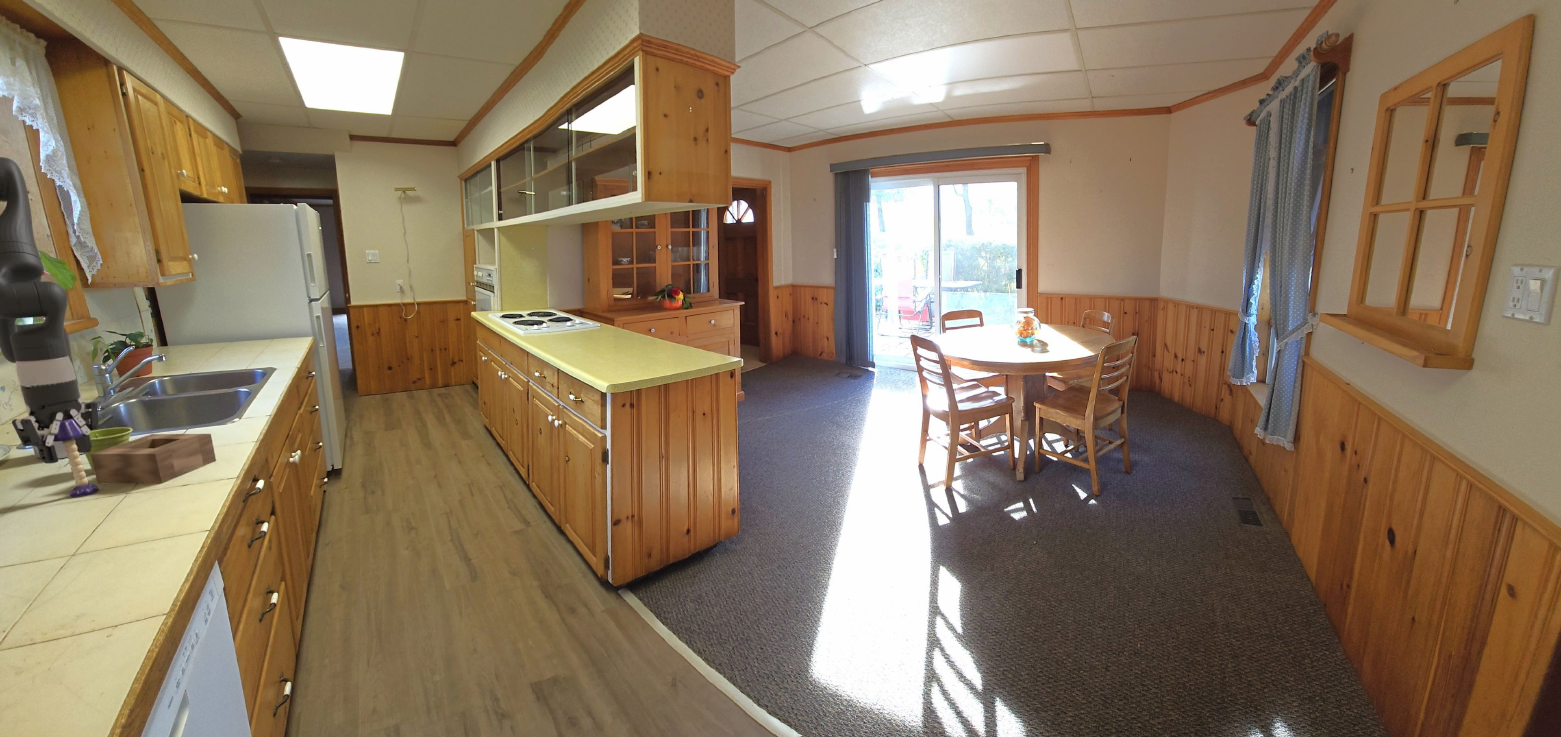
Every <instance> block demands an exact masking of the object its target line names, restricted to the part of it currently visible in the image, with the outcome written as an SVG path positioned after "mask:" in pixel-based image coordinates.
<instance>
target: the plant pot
mask: <svg viewBox="0 0 1561 737" xmlns="http://www.w3.org/2000/svg"><path fill="white" fill-rule="evenodd" d="M132 432H133V428H131V427H111V428H102V429H94V430H92V431H91V433H90V434H89V436H90V441H91V445H92V447H91V451H90V452H86V453H84V456H85V458H86V460H87V461H88V463H89V466H90V468H91V471H92V472H95V471H94V467H93V463H92V459H91V454H92V453H95V452H98V451H102V450H105V449H108V448H111V447H114V446H117V445H120V444H123V443H126V442H129V441H130V438H131V433H132Z"/></svg>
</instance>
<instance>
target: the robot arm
mask: <svg viewBox="0 0 1561 737" xmlns="http://www.w3.org/2000/svg"><path fill="white" fill-rule="evenodd" d="M21 170H22V169H21V168H20V166H19V165H18V164H17V163H16V162H15V161H14V160H13V159H11V158H8V157H2V156H0V203H1V202H2V203H4V202H5V203H6V205H5V207H4V209H3V211H2V213H1V214H0V351H1V353H2V355H3V357H4V359H5V360H6V361H8V362H10V363H11V364H16V365H15V367H16V374H17V379H18V383H19V386H20V390H21V393H22V397H23V401H24V405H25V408H26V411H27V412H26V413H27V416H25V417H22V418H14V419H12V421H11V424H12V426H13V428H14V430H15V432H16V434H17V436H18V439H19V441H20V443H21V444H22V446H23V447H32V449H33V450H32V451H33V453H34V456H35V458H39V460H40V461H41V462H43V463H44V464H56V463H58V462H59V459H63V458H67V452H66V451H65V445H64V444H63V442H62V441H59V442H53V440H54V436H55V435H56V434H57V433H58V429H59V425H60V422H61V421H63V420H67V419H70V418H71V419H73V420H74V421H75V422H76V424H77V425H78V426H79V428H80V429H81V430H82V432H83V434H84V435H83V436H81V437H79V438H76V439H75V445H76V446H77V451H78V452H79V455H83V454H85V453H86V452H90V451H91V447H92V445H91V441H90V436H89V434H90V433H91V431H95V430H99V429H98V428H99V410H98V403H97V402H95V401H93V402H92V401H91V402H89V401H88V402H87V401H85V402H84V400H83V396H82V393H81V391H80V386H79V382H78V378H77V375H76V374H77V373H76V371H75V367H74V363H73V362H74V361H73V356H72V352H71V351H72V349H71V342H70V338H69V335H68V332H67V329H66V327H65V326H64V325H65V319H66V318H65V317H66V311H67V308H68V302H69V301H68V293H67V292H66V289H64V287H62V286H61V285H60V284H58V283H56V282H54V281H42V276H43V275H44V272H45V268H44V265H43V261H42V258H41V255H40V253H39V250H38V247H37V244H36V240H35V236H34V229H33V219H32V209H31V204H30V199H29V193H28V188H27V183H26V180H25V178H24V174H23V172H22V171H21ZM40 317H44V318H45V320H44V321H43V322H42V323H26V324H16V321H17V319H26V318H40Z"/></svg>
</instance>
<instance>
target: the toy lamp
mask: <svg viewBox="0 0 1561 737" xmlns="http://www.w3.org/2000/svg"><path fill="white" fill-rule="evenodd" d="M83 435H84V434H83V432H82V430H81V429H80V428H79V426H78V425H77V424H76V422H75V421H74V420H73V419H71V418H70V419H67V420H63V421H61V422H60V425H59V429H58V433H57V434H56V435H55V436H54V440H53V442H59V441H62V442H63V444H64V445H65V451H66V452H67V457H66V458H67V459H68V464H69V466H70V471H71V472H72V473H73V476H72V477H73V478H74V480H75V482H74V483H75V485H76V486H75V487H73V488H72V489H71V490H70V492H69V497H71V498H82V497H86V496H90V495H93V494H97V493H98V492H99V491H100V489H99V487H98V486H97V485H96V484H92V483H89V480H88V478H86V476H87V474H86V472H85V471H84V470H85V467H84V465H82V463H83V462H82V459H81V458H80V455H81V454H80V455H79V452H78V451H77V446H76V445H75V439H76V438H79V437H81V436H83Z"/></svg>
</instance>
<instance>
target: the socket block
mask: <svg viewBox="0 0 1561 737" xmlns="http://www.w3.org/2000/svg"><path fill="white" fill-rule="evenodd" d="M91 459H92V463H93V467H94V471H93V472H94V474H95V478H96V482H97V484H98V483H127V484H163V483H166V482H168V481H171V480H173V479H175V478H178V477H181V476H182V474H183V475H185V473H186V474H188V473H191V472H193V471H195V470H197V469H200V468H202V467H205V466H207V465H210V464H212V463H215V462H216V461H217V458H216V453H215V448H214V443H213V438H212V433H150V434H147V435H145V436H142V437H139V438H135V439H132V440H129V442H126V443H123V444H120V445H117V446H114V447H111V448H108V449H105V450H102V451H98V452H95V453H92V454H91Z"/></svg>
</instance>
